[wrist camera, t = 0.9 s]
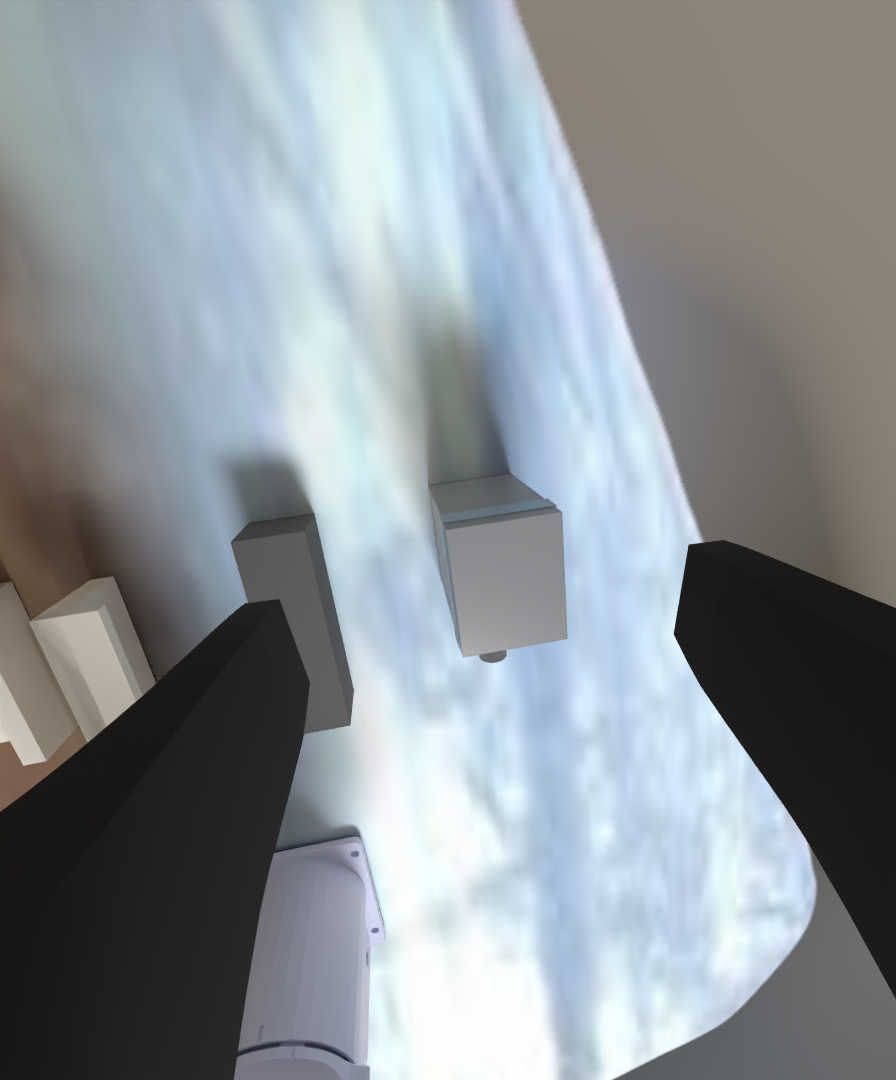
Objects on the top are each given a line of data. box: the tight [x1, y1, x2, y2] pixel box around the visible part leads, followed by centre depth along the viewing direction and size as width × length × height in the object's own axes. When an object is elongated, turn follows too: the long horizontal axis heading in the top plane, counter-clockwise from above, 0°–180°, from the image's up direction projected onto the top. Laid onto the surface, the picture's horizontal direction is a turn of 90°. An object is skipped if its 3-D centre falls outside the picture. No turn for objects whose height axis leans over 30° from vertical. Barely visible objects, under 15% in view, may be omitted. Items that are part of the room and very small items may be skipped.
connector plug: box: [429, 473, 567, 663], centre depth 21 cm, size 9×4×7 cm, turn 7°
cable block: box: [231, 514, 354, 734], centre depth 22 cm, size 10×3×3 cm, turn 7°
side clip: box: [29, 576, 156, 743], centre depth 21 cm, size 7×4×4 cm, turn 7°
